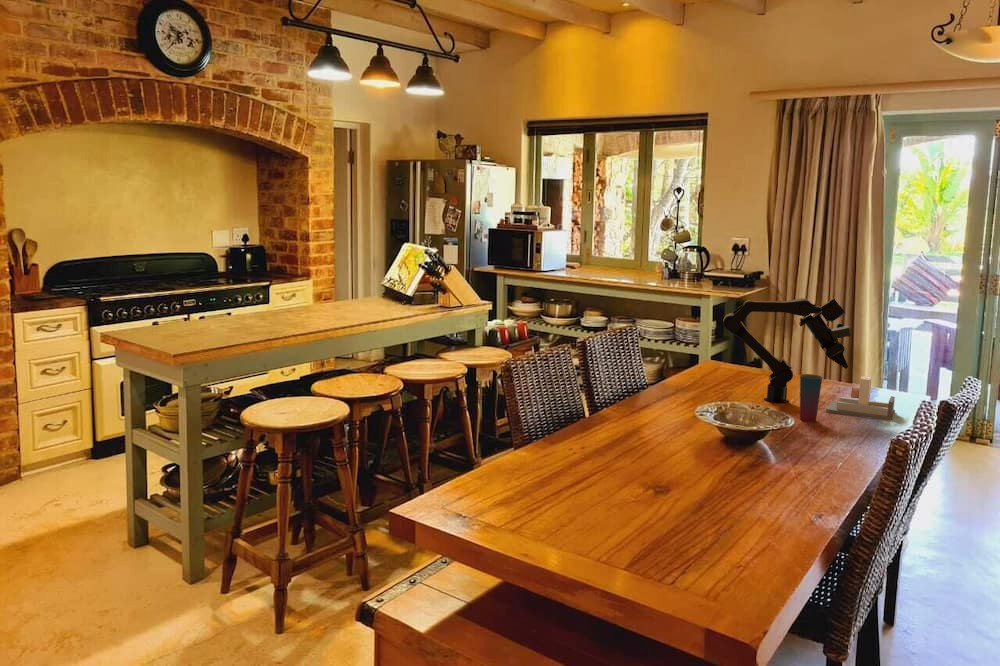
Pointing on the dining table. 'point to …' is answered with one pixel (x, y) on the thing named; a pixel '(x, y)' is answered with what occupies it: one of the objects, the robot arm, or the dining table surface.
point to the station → (863, 408)
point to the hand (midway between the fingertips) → (845, 365)
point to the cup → (809, 396)
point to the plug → (862, 391)
